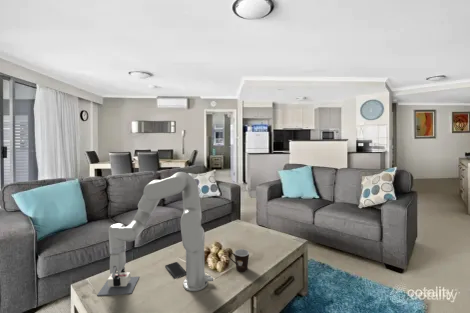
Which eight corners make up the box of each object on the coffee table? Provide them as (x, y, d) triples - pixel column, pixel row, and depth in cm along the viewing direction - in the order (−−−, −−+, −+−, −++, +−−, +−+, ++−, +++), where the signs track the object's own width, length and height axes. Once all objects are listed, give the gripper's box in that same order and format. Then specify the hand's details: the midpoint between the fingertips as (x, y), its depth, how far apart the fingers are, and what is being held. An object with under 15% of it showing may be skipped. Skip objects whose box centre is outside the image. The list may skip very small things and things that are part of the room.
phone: (174, 277, 134) (164, 265, 146) (174, 279, 134) (164, 267, 147) (187, 273, 139) (177, 261, 151) (187, 274, 139) (177, 263, 151)
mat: (139, 277, 136) (139, 276, 136) (131, 293, 122) (131, 292, 122) (108, 278, 134) (108, 278, 134) (97, 295, 120) (97, 294, 120)
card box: (113, 279, 131) (113, 272, 130) (130, 279, 131) (130, 271, 131) (108, 286, 125) (107, 279, 124) (126, 286, 125) (125, 278, 125)
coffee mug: (252, 268, 145) (252, 252, 144) (242, 275, 138) (242, 257, 137) (237, 261, 153) (237, 246, 152) (227, 267, 146) (227, 251, 145)
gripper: (116, 241, 134) (118, 272, 136) (102, 257, 117) (104, 293, 119) (130, 240, 135) (132, 272, 137) (119, 256, 118) (121, 292, 120)
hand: (119, 281), depth 128 cm, fingers closed on card box, 6 cm apart
